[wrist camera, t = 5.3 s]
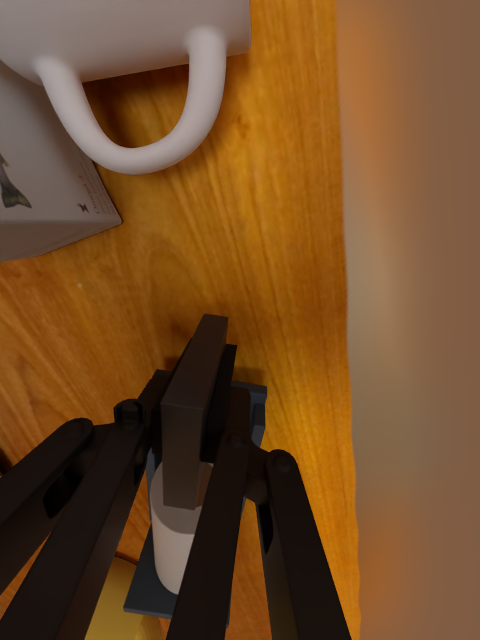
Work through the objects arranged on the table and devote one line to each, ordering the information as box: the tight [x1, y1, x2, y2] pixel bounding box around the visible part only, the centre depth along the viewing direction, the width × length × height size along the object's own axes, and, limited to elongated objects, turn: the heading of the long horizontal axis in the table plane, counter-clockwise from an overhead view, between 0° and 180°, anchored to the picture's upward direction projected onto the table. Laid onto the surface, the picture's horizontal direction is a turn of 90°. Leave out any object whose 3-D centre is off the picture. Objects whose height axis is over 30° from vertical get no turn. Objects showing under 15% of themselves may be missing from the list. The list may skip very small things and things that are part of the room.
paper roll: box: [150, 462, 213, 594], centre depth 21 cm, size 11×6×6 cm, turn 172°
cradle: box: [123, 314, 267, 628], centre depth 18 cm, size 25×9×8 cm, turn 172°
